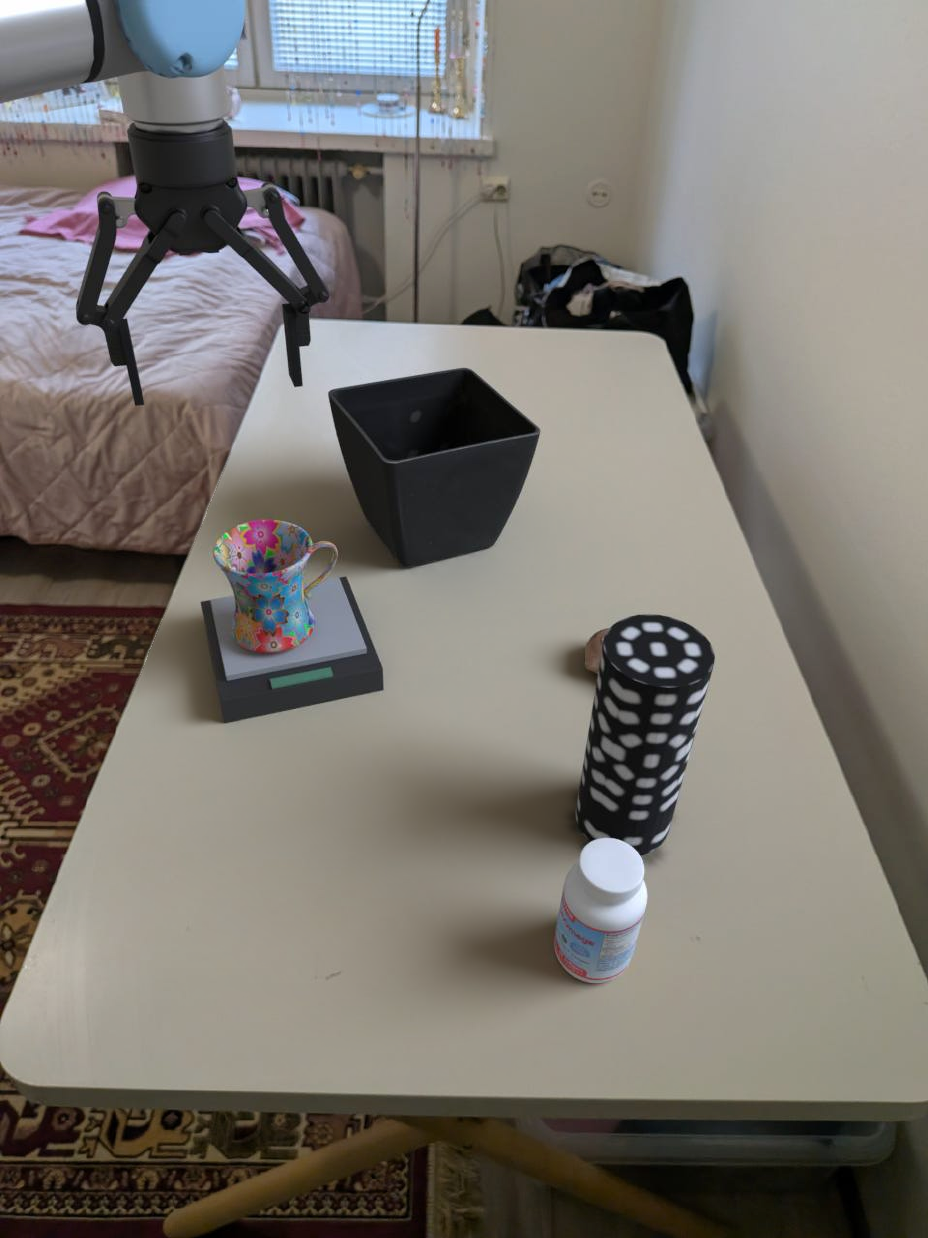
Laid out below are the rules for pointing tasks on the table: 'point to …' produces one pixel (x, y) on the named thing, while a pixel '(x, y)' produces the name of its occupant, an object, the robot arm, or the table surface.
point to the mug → (269, 583)
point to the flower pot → (433, 460)
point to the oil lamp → (594, 650)
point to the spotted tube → (642, 728)
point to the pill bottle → (601, 911)
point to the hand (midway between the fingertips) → (219, 389)
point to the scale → (294, 658)
